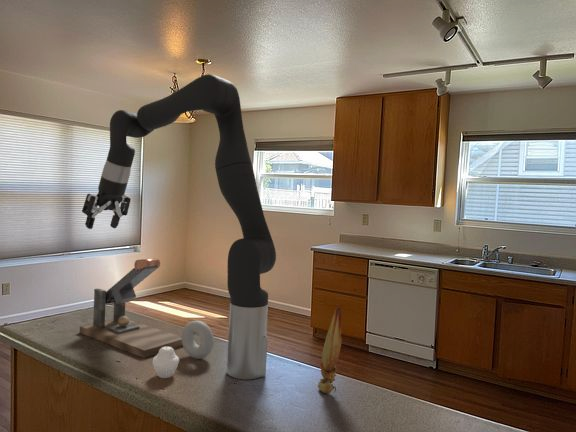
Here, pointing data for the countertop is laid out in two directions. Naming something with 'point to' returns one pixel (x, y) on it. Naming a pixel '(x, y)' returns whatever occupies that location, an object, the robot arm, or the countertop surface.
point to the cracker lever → (131, 281)
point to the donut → (204, 335)
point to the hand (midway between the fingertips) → (101, 227)
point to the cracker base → (126, 330)
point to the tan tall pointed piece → (331, 353)
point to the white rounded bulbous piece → (165, 362)
